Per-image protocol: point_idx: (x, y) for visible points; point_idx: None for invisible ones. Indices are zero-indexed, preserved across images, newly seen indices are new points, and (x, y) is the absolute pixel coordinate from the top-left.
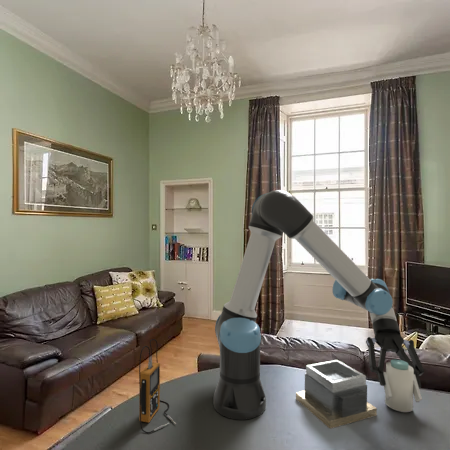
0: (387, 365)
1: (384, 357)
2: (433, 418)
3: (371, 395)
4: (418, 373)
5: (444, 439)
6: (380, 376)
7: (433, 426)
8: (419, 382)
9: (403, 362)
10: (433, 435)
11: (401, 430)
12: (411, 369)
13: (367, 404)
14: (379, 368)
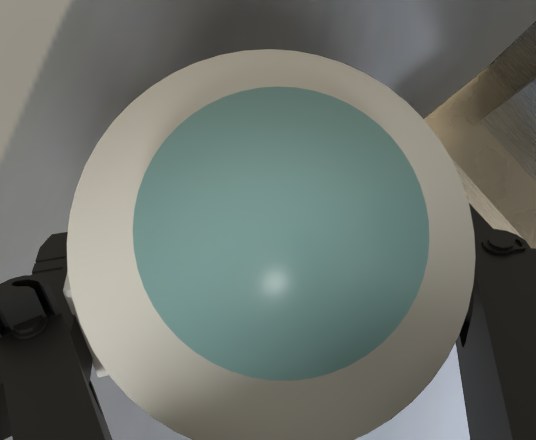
0: (456, 217)
1: (524, 417)
2: (50, 215)
3: (416, 406)
4: (7, 291)
5: (70, 10)
6: (472, 214)
7: (85, 121)
8: (45, 265)
9: (210, 255)
10: (119, 31)
11: (284, 30)
12: (110, 184)
13: (476, 153)
14: (524, 250)
